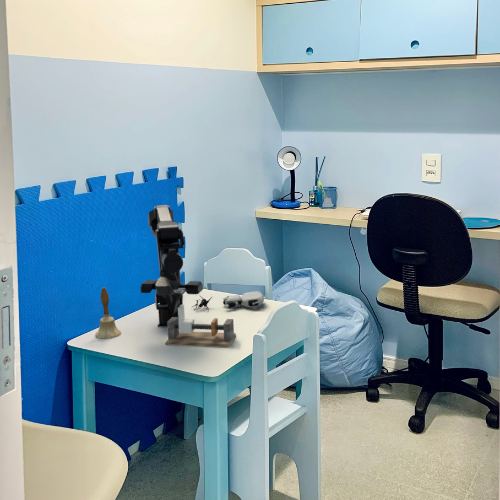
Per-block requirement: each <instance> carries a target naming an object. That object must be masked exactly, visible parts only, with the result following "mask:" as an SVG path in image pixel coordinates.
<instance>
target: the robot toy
mask: <svg viewBox="0 0 500 500" xmlns="http://www.w3.org/2000/svg"><path fill="white" fill-rule="evenodd" d="M222 299H223V302H222V303H223V308H226V309H227V308H228V309H236V308H240V307H241V306H242V305H243V307H245V308H250V309H256V308H258V307H259V306H261V305H263V304H264V302H265V299H264V294H263V293H262V292H261V290H258V291H256V290H255V291H248V292H244V293H243V294H241V295H239V294H234V295H227V296H226V297H223V298H222Z"/></svg>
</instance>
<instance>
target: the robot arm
mask: <svg viewBox="0 0 500 500" xmlns="http://www.w3.org/2000/svg"><path fill="white" fill-rule="evenodd" d="M174 216H175V215H174V211H173V209H171V208H170V205H167V204H161V205H155V206H154V208H153V209H151V210H150V211H149V212H148V216H147V223H148V227H150V233H151V234H152V235H153V237H154V238H155V241H156V247H157V257H158V258H157V259H158V268H159V277H158V278H157V279H156V280H155V279H152V280H151V279H148V280H147V279H146V280H145V281H144V282H142V283H141V285H140V287H139V289H140V293H141V294H150V293H151V292H152V291H154V290H156V291H155V293H154V295H155V297H154V303H155V304H154V305H155V308H156V310H157V311H158V324H157V327H160V328H168V327H167V322H168V321H169V320H170V319H171V318H172V317H178V307H179V306H180V305H184V304H183V302H184V294H185V293H186V294H187V295H200V293H201V292H202V291H203V290H204V285H203V282H201V280H200V281H198V280H191V281H188V283H182V278H181V269H182V268H183V266H184V260H183V258H182V256H181V254H180V252H179V249H180V250H181V249H184V245H185V243H186V242H185V238H184V237H185V236H184V231H183V230H182V228H181V227H180V226H179V224H178V223H177V221H176V222H175V217H174ZM178 323H179V318H178Z"/></svg>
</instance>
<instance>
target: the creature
mask: <svg viewBox="0 0 500 500" xmlns="http://www.w3.org/2000/svg"><path fill="white" fill-rule="evenodd" d="M199 297H200V298H201V299H200V298H198V299H197V300H196V299H195V301H196V303H195V304H194V305H193V306H192V308H194V307H195V309H193V312H195V311H196V312H197V311H198V309H199V310H200V309H201V308H203V307H204V308H205V309H206V311H207V310H208V311H207V312H206V313H208V312H209V311H210V308H209V306H208V304H209V303H210V301H211V300H212V298H213V296H211V297H210V298H209V299H208V300H207V299H206V298H204V297H202V296H201V295H199ZM199 302H200V303H199ZM198 303H199V304H198ZM203 312H205V310H203Z"/></svg>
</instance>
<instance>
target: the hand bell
mask: <svg viewBox="0 0 500 500" xmlns="http://www.w3.org/2000/svg"><path fill="white" fill-rule="evenodd" d="M108 292H109V291H108V290H107V288H106V286H105V287H104V286H103V287H101V292H100V300H101V301H100V302H101V304H102V308H103V317H101V318H100V320H99V327H98V330H97V332H95V335H94V336H95V338H96V339H100V340H107V339H108V340H111V339H115V338H117V337H119V336H121V335H122V331H121V330H120V329H118V327H117V326H116V322H115V319H114V317H113V316H110V312H109V311H110V310H109V303H110V295H109V293H108Z"/></svg>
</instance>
